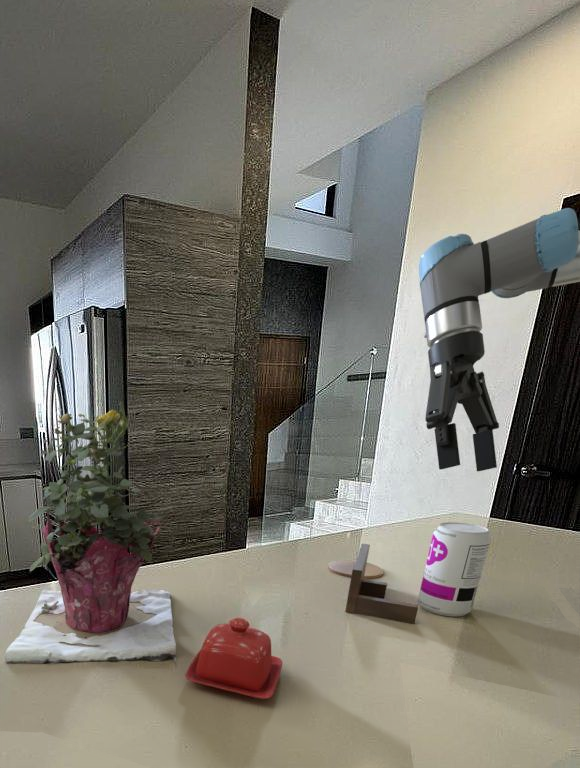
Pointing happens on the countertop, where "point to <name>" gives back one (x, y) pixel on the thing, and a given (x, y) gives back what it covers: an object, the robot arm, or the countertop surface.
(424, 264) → the robot arm
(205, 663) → the butter dish
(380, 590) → the dark wooden l-bracket
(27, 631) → the potted flower
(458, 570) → the supplement can
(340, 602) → the countertop surface
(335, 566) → the cork coaster
